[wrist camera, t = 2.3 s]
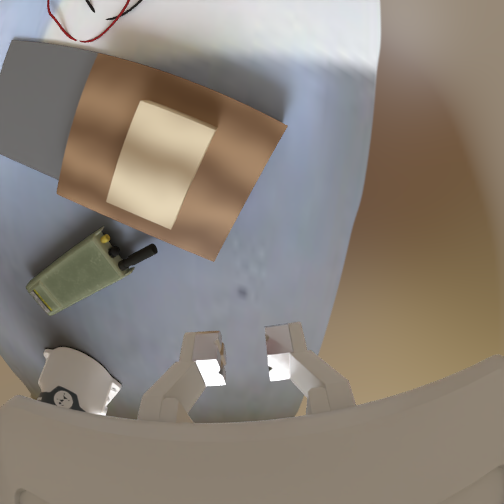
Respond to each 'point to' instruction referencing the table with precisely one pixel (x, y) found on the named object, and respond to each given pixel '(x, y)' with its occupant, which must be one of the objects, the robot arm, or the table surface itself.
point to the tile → (158, 162)
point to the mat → (40, 101)
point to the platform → (210, 169)
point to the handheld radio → (83, 272)
